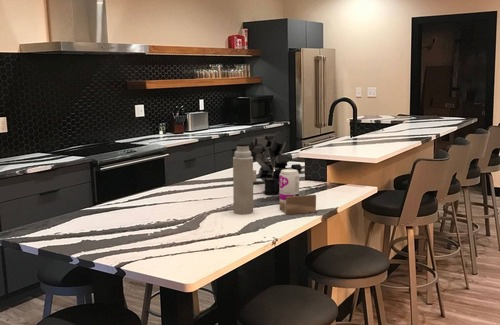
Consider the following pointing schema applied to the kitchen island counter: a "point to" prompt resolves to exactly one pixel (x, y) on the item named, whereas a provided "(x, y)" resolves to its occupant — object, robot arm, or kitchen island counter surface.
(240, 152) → the thermos bottle
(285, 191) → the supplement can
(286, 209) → the walnut dock
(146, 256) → the kitchen island counter surface
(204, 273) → the kitchen island counter surface
